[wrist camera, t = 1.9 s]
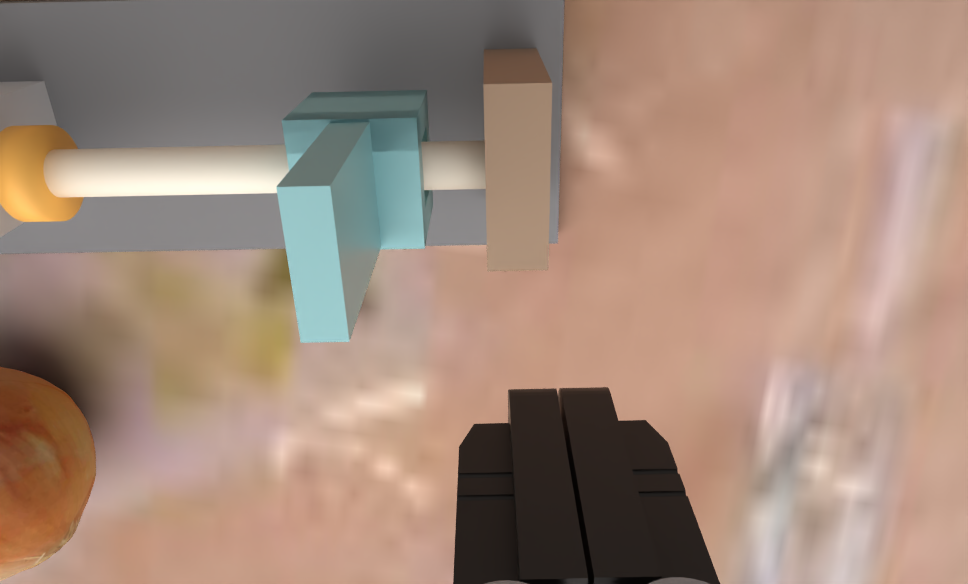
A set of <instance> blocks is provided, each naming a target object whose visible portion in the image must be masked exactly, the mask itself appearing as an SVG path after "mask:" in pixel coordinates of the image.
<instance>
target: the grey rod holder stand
mask: <svg viewBox="0 0 968 584" xmlns="http://www.w3.org/2000/svg"><path fill="white" fill-rule="evenodd" d="M563 35H564V0H48V1H5V2H0V254H31V253H83V252H134V251H186V250H238V249H286V246H285V239H284V233H283V227H282V220H281V214H280V208H279V201H278V195H277V189H276V187H277V185H278V184H279V183H280V182H281V181H282V179H283V178H284V177H285V176H286V174H287V173H288V172H289V167H288V160H287V154H286V147H285V140H284V134H283V127H282V120H283V119H284V118H285V117H286V116H287V115H288V114H289V113H290V112H291V111H292V110H294V109H295V108H296V107H297V106H298V105H299V104H300V103H301V102H302V101H303V100H304V99H306V98H307V97H308V96H309V95H310V94H311V93H312V92H352V91H399V90H427V102H428V120H429V138H430V142H421V147H422V163H423V179H424V190H432V191H433V208H432V213H431V219H430V224H429V229H428V234H427V239H426V245H425V246H446V245H487V271H532V270H548V262H549V243H558V221H559V184H560V147H561V109H562V72H563Z"/></svg>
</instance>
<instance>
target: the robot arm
mask: <svg viewBox="0 0 968 584" xmlns="http://www.w3.org/2000/svg"><path fill="white" fill-rule="evenodd" d="M453 584H720V582H719V580H718V577H717V575H716V572H715V569H714V567H713V564H712V561H711V558H710V556H709V553H708V550H707V548H706V545H705V542H704V539H703V537H702V534H701V531H700V529H699V526H698V523H697V520H696V518H695V515H694V512H693V510H692V507H691V504H690V501H689V499H688V496H686V493H685V488H684V485H683V482H682V480H681V477H680V474H678V472H677V466H676V463H675V461H674V458H673V455H672V453H671V450H670V447H669V444H668V442H667V441H666V440H665V439H664V438H663V437H662V436H661V435H660V434H659V433H658V432H657V431H656V430H655V429H654V428H653V427H652V426H651V425H650V424H649V423H648V422H647V421H646V420H636V421H618V418H617V415H616V411H615V408H614V404H613V400H612V397H611V393H610V390H609V388H608V387H603V388H560V389H559V393H558V394H557V390H556V389H513V390H508V423H495V424H474V425H473V427H472V428H471V430H470V431H469V433H468V434H467V436H466V437H465V439H464V440H463V442H462V443H461V445H460V446H459V465H458V488H457V512H456V535H455V558H454V582H453Z"/></svg>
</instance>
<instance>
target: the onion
mask: <svg viewBox="0 0 968 584" xmlns="http://www.w3.org/2000/svg"><path fill="white" fill-rule="evenodd" d="M95 476H96V454H95V447H94V441H93V438H92V434H91V431H90V428H89V425H88V422H87V421H86V419H85V417H84V415H83V414H82V412H81V411H80V409H79V408H78V407H77V405H76V404H75V403H74V401H73V400H72V398H71V397H70V396H69V395H68V394H67V393H66V392H64V391H63V390H61V389H60V388H58V387H56V386H55V385H53V384H51V383H50V382H48V381H46V380H44V379H42V378H40V377H37V376H34V375H31V374H28V373H25V372H22V371H18V370H14V369H9V368H4V367H0V581H2V580H4V579H6V578H9V577H11V576H13V575H15V574H17V573H19V572H21V571H24V570H27V569H30V568H33V567H35V566H37V565H38V564H40V563H42V562H43V561H45V560H46V559H48V558H49V557H50V556H52V555H53V554H54V553H56V552H57V551H58V550H60V549H61V548H62V546H63V545H65V544H66V543H67V542H68V541H69V540H70V539H71V538H72V536H73V534H74V532H75V531H76V528H77V526H78V523H79V521H80V518H81V516H82V513H83V510H84V508H85V506H86V504H87V502H88V499H89V496H90V493H91V490H92V487H93V484H94V481H95Z"/></svg>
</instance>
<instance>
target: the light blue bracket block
mask: <svg viewBox="0 0 968 584" xmlns="http://www.w3.org/2000/svg"><path fill="white" fill-rule="evenodd" d="M282 127H283V134H284V140H285V147H286V154H287V160H288V167H289V172H288V173H287V174H286V176H285V177H284V178H283V179H282V181H281V182H280V183H279V184H278V185H277V187H276V189H277V195H278V201H279V208H280V214H281V220H282V227H283V233H284V239H285V246H286V252H287V258H288V265H289V271H290V277H291V284H292V290H293V296H294V303H295V309H296V315H297V322H298V328H299V334H300V340H301V343H305V342H349V341H350V338H351V335H352V332H353V329H354V326H355V323H356V320H357V317H358V314H359V311H360V308H361V305H362V302H363V299H364V296H365V293H366V290H367V287H368V284H369V281H370V278H371V275H372V272H373V269H374V266H375V263H376V260H377V257H378V254H379V251H380V249H424V248H425V245H426V239H427V234H428V229H429V224H430V219H431V213H432V208H433V191H432V190H424V179H423V163H422V147H421V142H430V138H429V120H428V102H427V90H399V91H352V92H312V93H311V94H310V95H309V96H308V97H307V98H306V99H304V100H303V101H302V102H301V103H300V104H299V105H298V106H297V107H296V108H295V109H294V110H292V111H291V112H290V113H289V114H288V115H287V116H286V117H285V118H284V119H283V120H282Z"/></svg>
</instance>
